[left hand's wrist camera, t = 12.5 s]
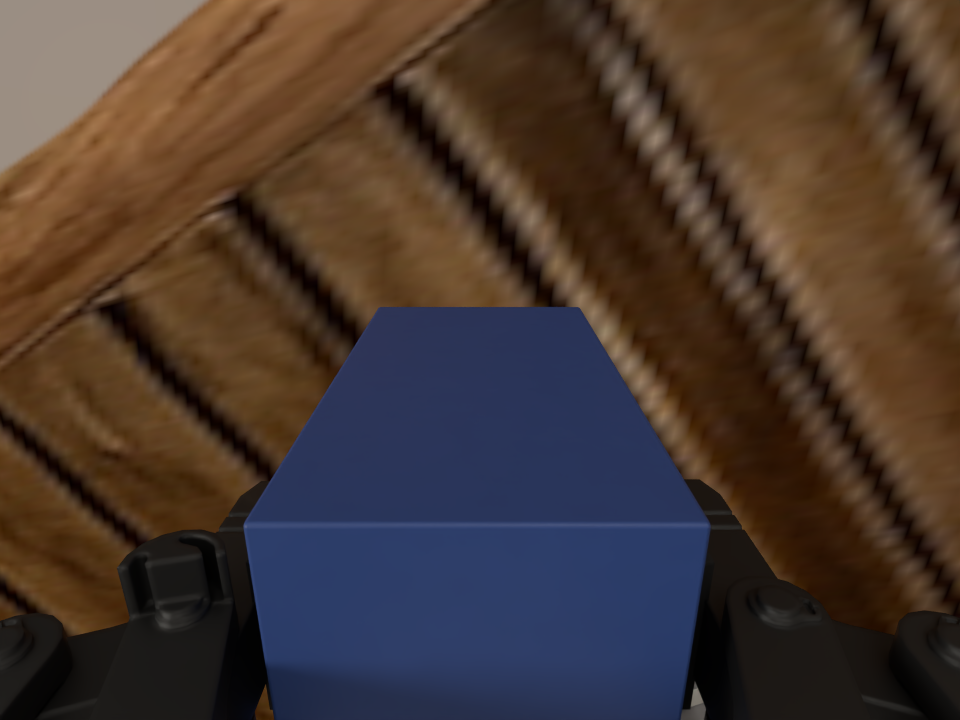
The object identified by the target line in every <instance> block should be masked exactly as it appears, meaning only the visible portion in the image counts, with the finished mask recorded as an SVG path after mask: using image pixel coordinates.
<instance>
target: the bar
mask: <svg viewBox="0 0 960 720" xmlns="http://www.w3.org/2000/svg"><path fill="white" fill-rule="evenodd" d="M710 530H711V525H710V522H709V520H708V519H707V517H706V516H705V514H704V512H703V511H702V509H701V507H700V506H699V504H698V502H697V501H696V499H695V497H694V496H693V494H692V492H691V491H690V489H689V487H688V486H687V484H686V483H685V481H684V479H683V478H682V476H681V474H680V473H679V471H678V469H677V468H676V466H675V464H674V463H673V461H672V459H671V458H670V456H669V454H668V453H667V451H666V450H665V448H664V446H663V445H662V443H661V441H660V440H659V438H658V436H657V435H656V433H655V431H654V430H653V428H652V426H651V425H650V423H649V422H648V420H647V418H646V417H645V415H644V413H643V412H642V410H641V408H640V407H639V405H638V403H637V402H636V400H635V398H634V397H633V395H632V393H631V392H630V390H629V389H628V387H627V385H626V384H625V382H624V380H623V379H622V377H621V375H620V374H619V372H618V370H617V369H616V367H615V365H614V364H613V362H612V361H611V359H610V357H609V356H608V354H607V352H606V351H605V349H604V347H603V346H602V344H601V342H600V341H599V339H598V337H597V336H596V334H595V332H594V331H593V329H592V328H591V326H590V324H589V323H588V321H587V319H586V318H585V316H584V314H583V313H582V311H581V309H580V308H578V307H380V308H378V310H377V312H376V313H375V315H374V316H373V318H372V320H371V321H370V323H369V324H368V326H367V328H366V329H365V331H364V332H363V334H362V335H361V337H360V339H359V340H358V342H357V343H356V345H355V347H354V348H353V350H352V351H351V353H350V355H349V356H348V358H347V359H346V361H345V363H344V364H343V366H342V367H341V369H340V371H339V372H338V374H337V375H336V377H335V379H334V380H333V382H332V383H331V385H330V387H329V388H328V390H327V391H326V393H325V395H324V396H323V398H322V399H321V401H320V403H319V404H318V406H317V407H316V409H315V411H314V412H313V414H312V415H311V417H310V418H309V420H308V422H307V423H306V425H305V426H304V428H303V430H302V431H301V433H300V434H299V436H298V438H297V439H296V441H295V442H294V444H293V446H292V447H291V449H290V450H289V452H288V454H287V455H286V457H285V458H284V460H283V462H282V463H281V465H280V466H279V468H278V470H277V471H276V473H275V474H274V476H273V478H272V479H271V481H270V482H269V484H268V486H267V487H266V489H265V490H264V492H263V494H262V495H261V497H260V498H259V500H258V501H257V503H256V505H255V506H254V508H253V509H252V511H251V513H250V514H249V516H248V517H247V519H246V521H245V523H244V534H245V540H246V546H247V552H248V559H249V565H250V571H251V577H252V583H253V590H254V596H255V602H256V608H257V614H258V621H259V627H260V633H261V639H262V645H263V652H264V658H265V664H266V670H267V676H268V683H269V689H270V695H271V701H272V707H273V714H274V720H681V714H682V708H683V701H684V695H685V688H686V682H687V676H688V669H689V663H690V657H691V650H692V644H693V638H694V631H695V625H696V619H697V612H698V606H699V600H700V593H701V587H702V580H703V574H704V568H705V561H706V555H707V549H708V542H709V536H710Z"/></svg>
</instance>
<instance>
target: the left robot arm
mask: <svg viewBox="0 0 960 720" xmlns="http://www.w3.org/2000/svg"><path fill="white" fill-rule="evenodd" d="M684 481H685V483H686V484H687V486H688V487H689V489H690V491H691V492H692V494H693V496H694V497H695V499H696V501H697V502H698V504H699V506H700V507H701V509H702V511H703V512H704V514H705V516H706V517H707V519H708V520H709V522H710V525H711V530H710V536H709V542H708V549H707V555H706V561H705V568H704V574H703V580H702V587H701V593H700V600H699V606H698V612H697V619H696V625H695V631H694V638H693V644H692V650H691V657H690V663H689V669H688V676H687V682H686V688H685V695H684V701H683V708H682V714H681V720H960V618H958V617H955V616H952V615H949V614H946V613H939V612H932V611H918V612H912V613H908V614H907V615H905V616H904V617H903V618H902V619H901V620H900V621H899V623H898V626H897V630H896V633H895V635H891V634H887V633H882V632H878V631H874V630H869V629H865V628H861V627H856V626H852V625H848V624H845V623H841V622H838V621H835V620H831V618H830V616H829V615H828V613H827V612H826V610H825V609H824V607H823V606H822V604H821V603H820V602H819V601H817V600H816V599H815V598H814V597H813V596H811V595H810V594H809V593H808V592H806V591H805V590H803V589H801V588H799V587H797V586H795V585H793V584H791V583H789V582H787V581H783V580H780V579H777V577H776V576H775V574H774V573H773V571H772V570H771V568H770V567H769V566H768V564H767V563H766V561H765V560H764V558H763V557H762V555H761V554H760V552H759V551H758V549H757V548H756V546H755V545H754V543H753V542H752V540H751V539H750V538H749V536H748V535H747V533H746V532H745V530H742V526H741V524H740V523H739V521H738V520H737V518H736V517H735V515H732V511H731V510H730V508H729V507H728V505H727V504H726V502H725V501H724V499H723V498H722V496H721V495H720V494H719V493H718V492H716V491H715V490H713V489H712V488H711V487H709V486H708V485H706V484H705V483H704V482H702V481H701V480H684ZM269 482H270V481H261V482H260V483H258V484H257V485H256V486H254V487H253V488H251V489H250V490H249V491H247V492H246V493H244V494H243V495H242V496H240V498H239V499H238V501H237V502H236V504H235V505H234V507H233V508H232V510H231V511H230V513H229V517H226V519H225V520H224V522H223V523H222V525H221V526H220V528H219V532H216V533H212V532H209V531H205V530H181V531H177V532H173V533H169V534H164V535H161V536H159V537H157V538H155V539H152V540H150V541H148V542H146V543H143V544H142V545H140V546H139V547H138V548H136V549H135V550H133V551H132V552H131V553H129V554H128V555H127V556H126V557H125V558H124V560H123V561H122V562H121V564H120V565H119V566H118V567H117V569H118V573H119V577H120V581H121V585H122V589H123V593H124V596H125V600H126V604H127V608H128V612H129V616H130V619H129V622H128V623H124V624H121V625H118V626H114V627H111V628H106V629H102V630H98V631H93V632H89V633H85V634H80V635H76V636H72V637H66V634H65V631H64V628H63V625H62V623H61V622H60V621H59V620H58V619H56V618H55V617H54V616H53V615H47V614H41V613H33V614H26V615H18V616H14V617H11V618H8V619H5V620H2V621H0V720H256V716H255V709H256V707H257V704H258V702H259V699H260V697H261V694H262V692H263V689H264V687H265V684H266V688H267V694H268V700H269V706H270V710H273V707H272V701H271V695H270V689H269V683H268V676H267V670H266V664H265V658H264V652H263V645H262V639H261V633H260V627H259V621H258V614H257V608H256V602H255V596H254V590H253V583H252V577H251V571H250V565H249V559H248V552H247V546H246V540H245V534H244V523H245V521H246V519H247V517H248V516H249V514H250V513H251V511H252V509H253V508H254V506H255V505H256V503H257V501H258V500H259V498H260V497H261V495H262V494H263V492H264V490H265V489H266V487H267V486H268V484H269Z"/></svg>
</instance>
